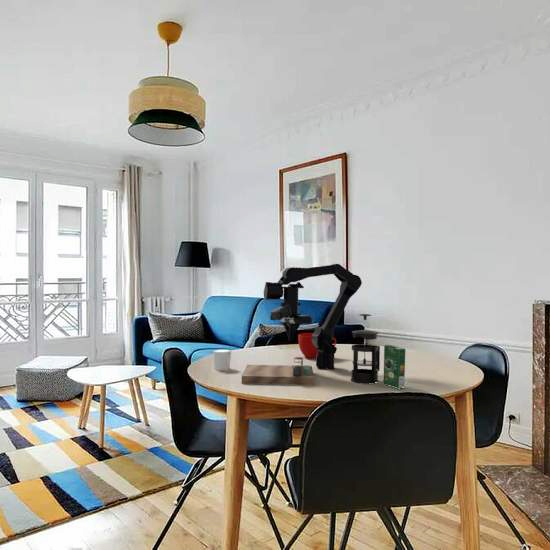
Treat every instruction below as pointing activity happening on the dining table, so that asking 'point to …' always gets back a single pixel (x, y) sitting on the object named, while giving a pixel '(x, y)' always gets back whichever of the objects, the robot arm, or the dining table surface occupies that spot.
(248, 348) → the dining table surface
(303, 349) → the ceramic cup
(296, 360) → the hinged leg
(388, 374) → the coffee box
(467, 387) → the dining table surface
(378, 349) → the french press
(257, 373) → the stool seat
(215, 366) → the white cylinder
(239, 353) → the dining table surface
